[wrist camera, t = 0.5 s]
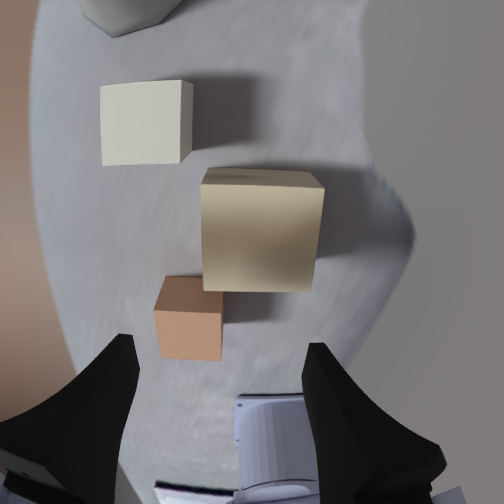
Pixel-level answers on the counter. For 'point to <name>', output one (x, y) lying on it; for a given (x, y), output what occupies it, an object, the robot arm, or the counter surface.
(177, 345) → the brown cube
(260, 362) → the counter surface
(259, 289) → the beech block
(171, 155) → the cream cube
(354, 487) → the robot arm
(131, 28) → the flask
